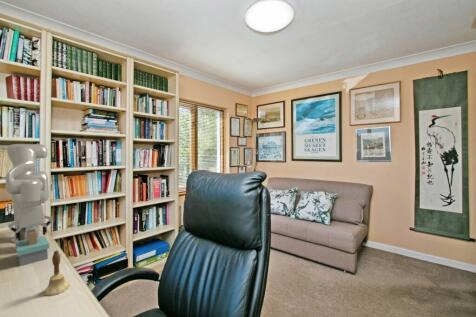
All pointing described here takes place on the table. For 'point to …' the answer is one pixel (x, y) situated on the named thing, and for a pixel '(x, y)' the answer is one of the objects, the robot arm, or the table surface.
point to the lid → (31, 243)
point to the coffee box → (24, 232)
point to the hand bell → (56, 278)
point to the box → (32, 257)
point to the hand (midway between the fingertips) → (32, 237)
